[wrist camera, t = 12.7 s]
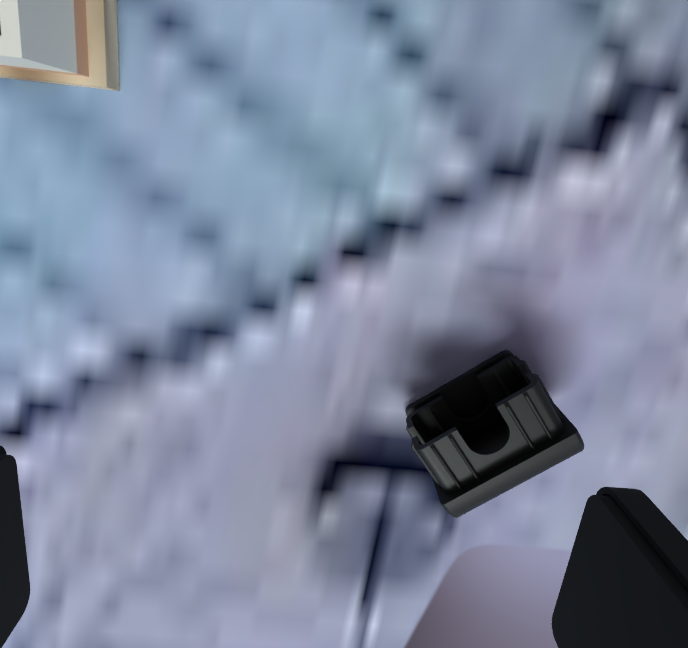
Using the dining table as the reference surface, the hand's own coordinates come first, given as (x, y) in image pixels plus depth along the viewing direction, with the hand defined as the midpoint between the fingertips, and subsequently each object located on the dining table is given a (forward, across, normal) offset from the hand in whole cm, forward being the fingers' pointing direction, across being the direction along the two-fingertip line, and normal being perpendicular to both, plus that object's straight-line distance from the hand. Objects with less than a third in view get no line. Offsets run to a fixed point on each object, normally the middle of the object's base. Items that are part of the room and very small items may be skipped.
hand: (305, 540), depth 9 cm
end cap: (+29, -13, +12) cm, 34 cm away
